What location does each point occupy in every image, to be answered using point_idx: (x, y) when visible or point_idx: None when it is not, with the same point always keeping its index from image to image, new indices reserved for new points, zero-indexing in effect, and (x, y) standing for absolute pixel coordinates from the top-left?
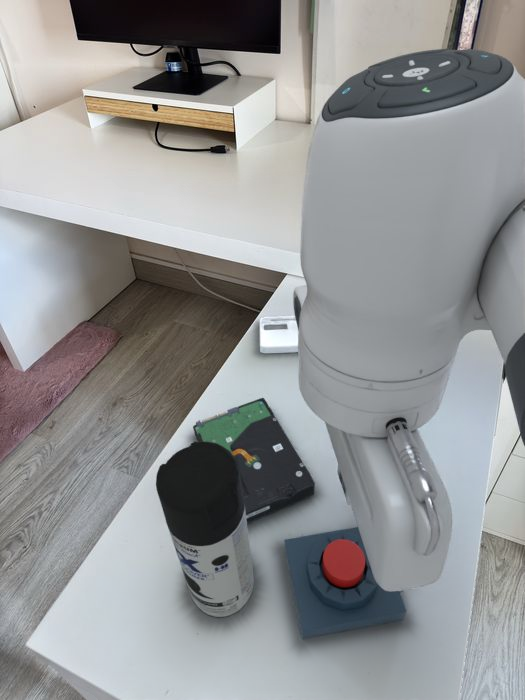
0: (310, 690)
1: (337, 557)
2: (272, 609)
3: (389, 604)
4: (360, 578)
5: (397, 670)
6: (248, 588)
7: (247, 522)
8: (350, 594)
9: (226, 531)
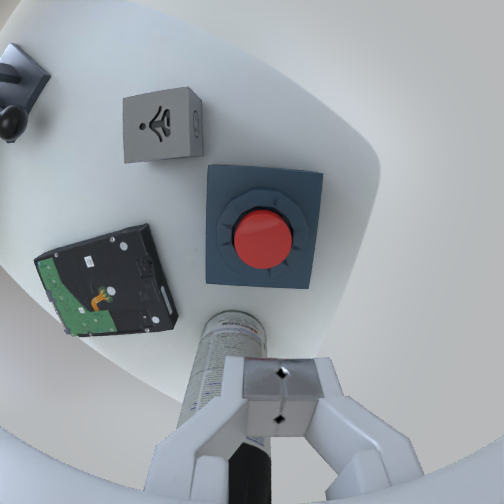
0: (344, 281)
1: (259, 250)
2: (269, 298)
3: (311, 189)
4: (285, 222)
5: (356, 199)
6: (254, 331)
7: (173, 304)
8: (299, 240)
9: (267, 464)
